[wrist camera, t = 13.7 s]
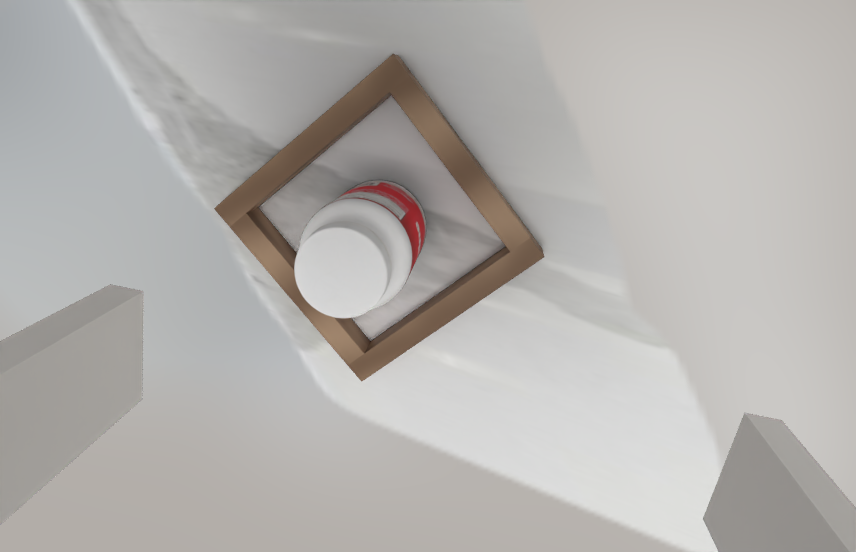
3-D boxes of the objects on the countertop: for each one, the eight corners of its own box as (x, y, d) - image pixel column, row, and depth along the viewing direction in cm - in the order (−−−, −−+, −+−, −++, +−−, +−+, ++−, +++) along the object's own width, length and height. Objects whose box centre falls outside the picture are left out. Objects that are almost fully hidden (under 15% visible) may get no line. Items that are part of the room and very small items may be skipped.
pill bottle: (399, 285, 40) (365, 354, 30) (320, 240, 40) (258, 294, 29) (445, 208, 38) (425, 253, 28) (362, 160, 38) (312, 187, 27)
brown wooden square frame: (227, 202, 40) (214, 208, 38) (398, 55, 36) (393, 53, 34) (367, 368, 42) (361, 381, 40) (542, 248, 38) (544, 256, 36)
